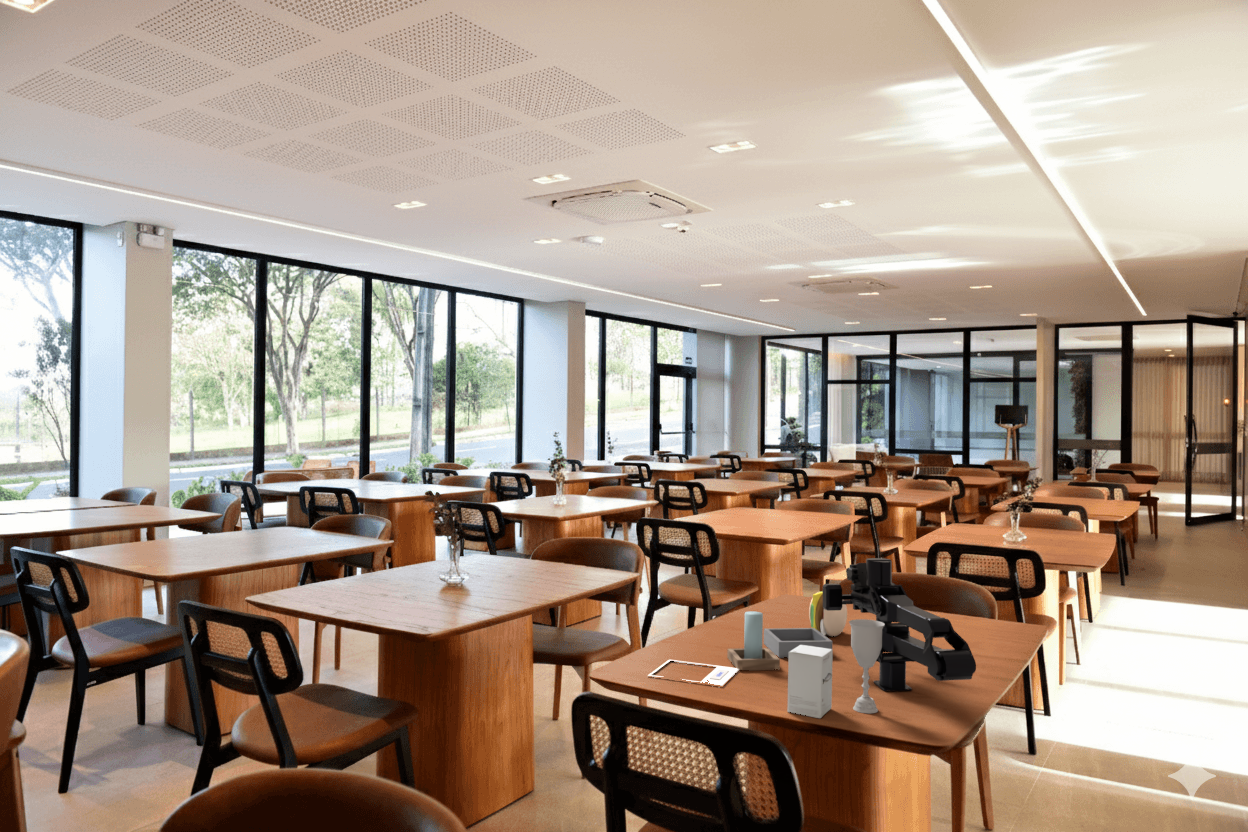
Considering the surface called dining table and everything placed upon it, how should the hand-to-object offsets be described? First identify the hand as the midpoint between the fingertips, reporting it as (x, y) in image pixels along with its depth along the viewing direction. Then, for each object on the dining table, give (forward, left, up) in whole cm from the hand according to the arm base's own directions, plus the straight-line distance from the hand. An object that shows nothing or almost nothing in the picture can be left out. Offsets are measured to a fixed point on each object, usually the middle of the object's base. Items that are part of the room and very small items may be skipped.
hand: (845, 591), depth 221 cm
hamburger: (+22, -4, -17) cm, 28 cm away
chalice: (-39, +10, -17) cm, 44 cm away
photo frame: (-12, +41, -17) cm, 47 cm away
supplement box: (-39, +22, -17) cm, 48 cm away
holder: (-5, +25, -17) cm, 31 cm away
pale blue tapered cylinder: (-5, +25, -17) cm, 31 cm away
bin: (+7, +10, -17) cm, 21 cm away
